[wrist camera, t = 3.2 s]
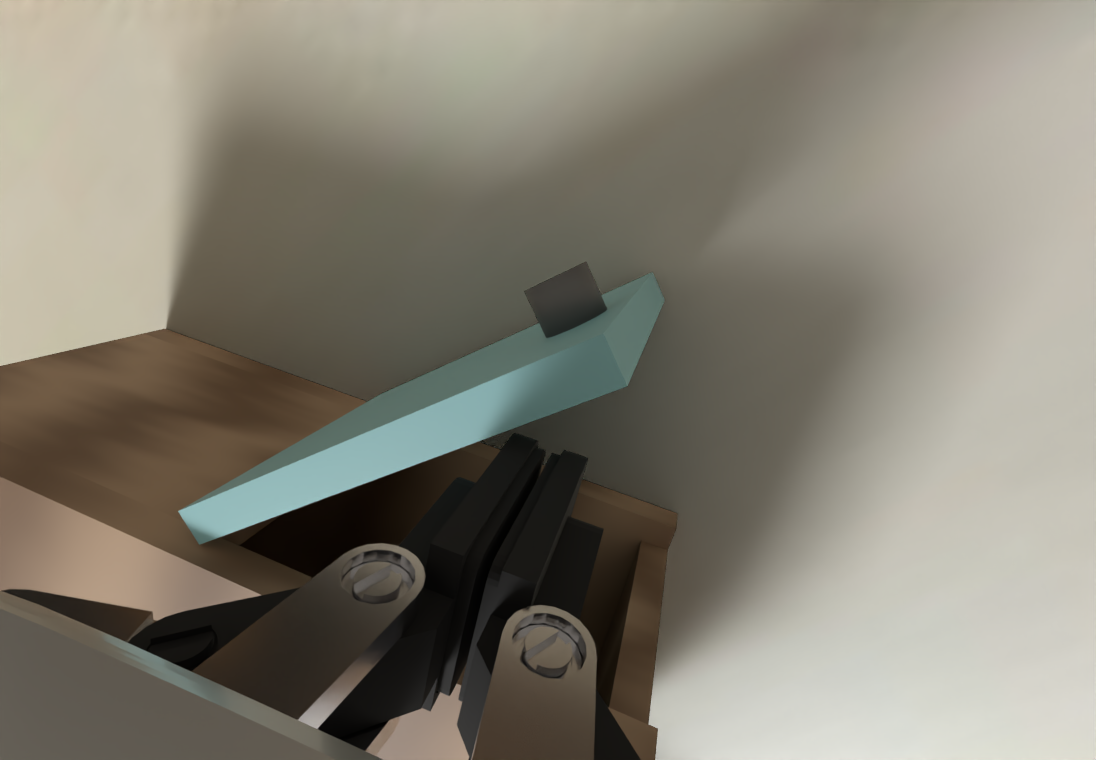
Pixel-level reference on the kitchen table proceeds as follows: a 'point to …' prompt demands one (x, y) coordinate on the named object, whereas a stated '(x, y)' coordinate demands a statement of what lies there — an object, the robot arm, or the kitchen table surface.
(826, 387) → the kitchen table surface
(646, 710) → the cabinet
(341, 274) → the kitchen table surface
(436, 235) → the kitchen table surface
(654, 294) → the door
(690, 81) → the kitchen table surface
